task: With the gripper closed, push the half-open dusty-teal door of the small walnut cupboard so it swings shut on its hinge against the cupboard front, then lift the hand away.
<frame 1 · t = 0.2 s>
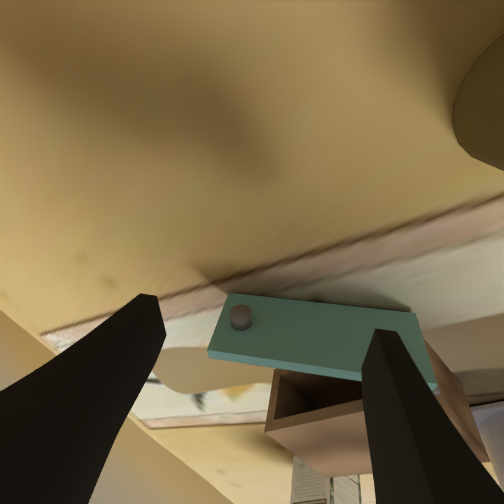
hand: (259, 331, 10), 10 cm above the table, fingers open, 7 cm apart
teal door: (318, 331, 20), point 3 cm above the table, hinge at 40.0°
syrup box: (326, 459, 37), on the table
walnut cabinet: (360, 376, 26), on the table
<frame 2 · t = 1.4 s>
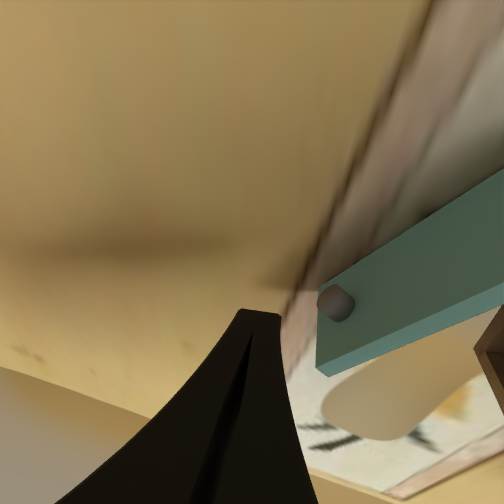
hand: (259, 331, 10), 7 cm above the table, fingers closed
teal door: (450, 247, 11), point 3 cm above the table, hinge at 40.0°
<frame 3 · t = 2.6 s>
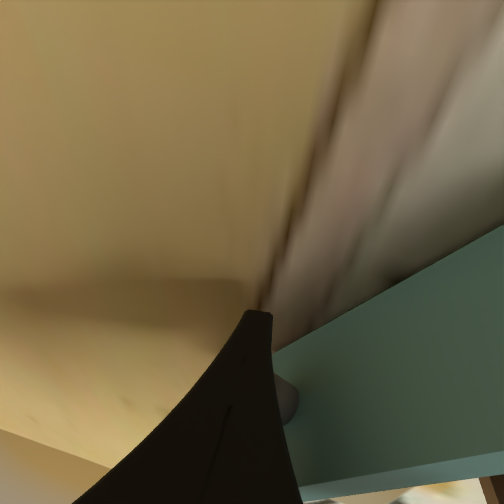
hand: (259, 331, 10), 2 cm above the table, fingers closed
teal door: (419, 348, 8), point 3 cm above the table, hinge at 39.4°, touching gripper
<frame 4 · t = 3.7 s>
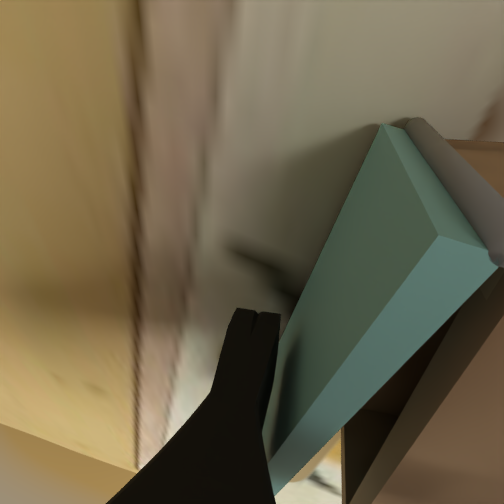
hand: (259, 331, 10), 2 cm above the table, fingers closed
teal door: (294, 353, 9), point 3 cm above the table, hinge at 13.1°, touching gripper
walnut cabinet: (485, 327, 11), on the table
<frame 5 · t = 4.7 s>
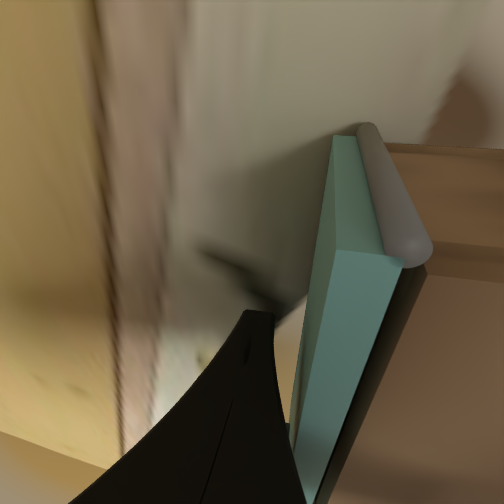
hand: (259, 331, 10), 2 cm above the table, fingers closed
teal door: (301, 367, 9), point 3 cm above the table, hinge at 0.5°, touching gripper
walnut cabinet: (449, 326, 11), on the table
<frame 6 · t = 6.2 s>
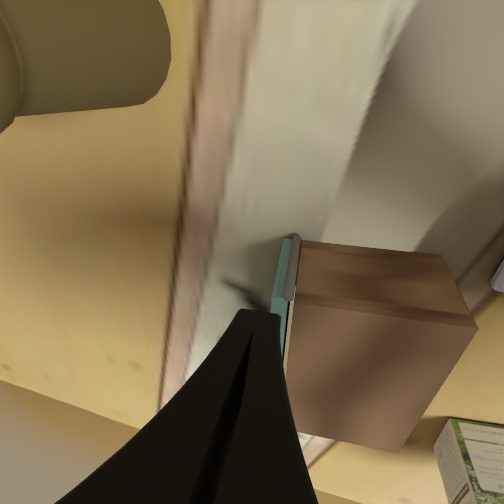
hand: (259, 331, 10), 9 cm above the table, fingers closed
teal door: (273, 338, 20), point 3 cm above the table, hinge at 0.5°
syrup box: (473, 434, 27), on the table
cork: (113, 37, 15), on the table
walnut cabinet: (349, 319, 22), on the table
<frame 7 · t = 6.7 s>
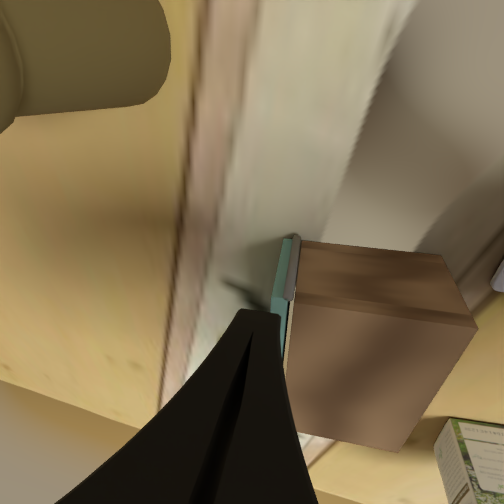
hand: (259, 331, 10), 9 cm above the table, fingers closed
teal door: (273, 338, 20), point 3 cm above the table, hinge at 0.5°
syrup box: (473, 434, 27), on the table
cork: (113, 37, 15), on the table
walnut cabinet: (349, 319, 22), on the table
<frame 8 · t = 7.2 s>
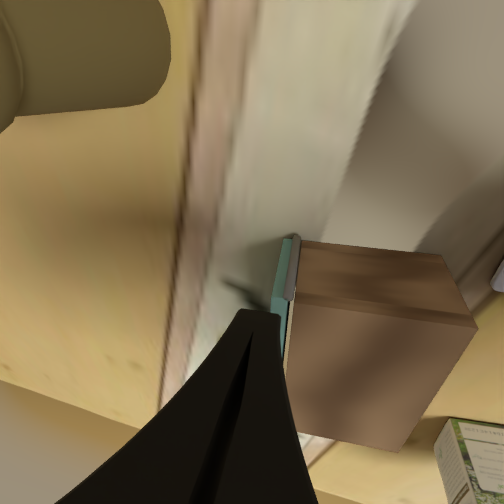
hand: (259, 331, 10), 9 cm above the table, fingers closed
teal door: (273, 338, 20), point 3 cm above the table, hinge at 0.5°
syrup box: (473, 434, 27), on the table
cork: (113, 37, 15), on the table
walnut cabinet: (349, 319, 22), on the table
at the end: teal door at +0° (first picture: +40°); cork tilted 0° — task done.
